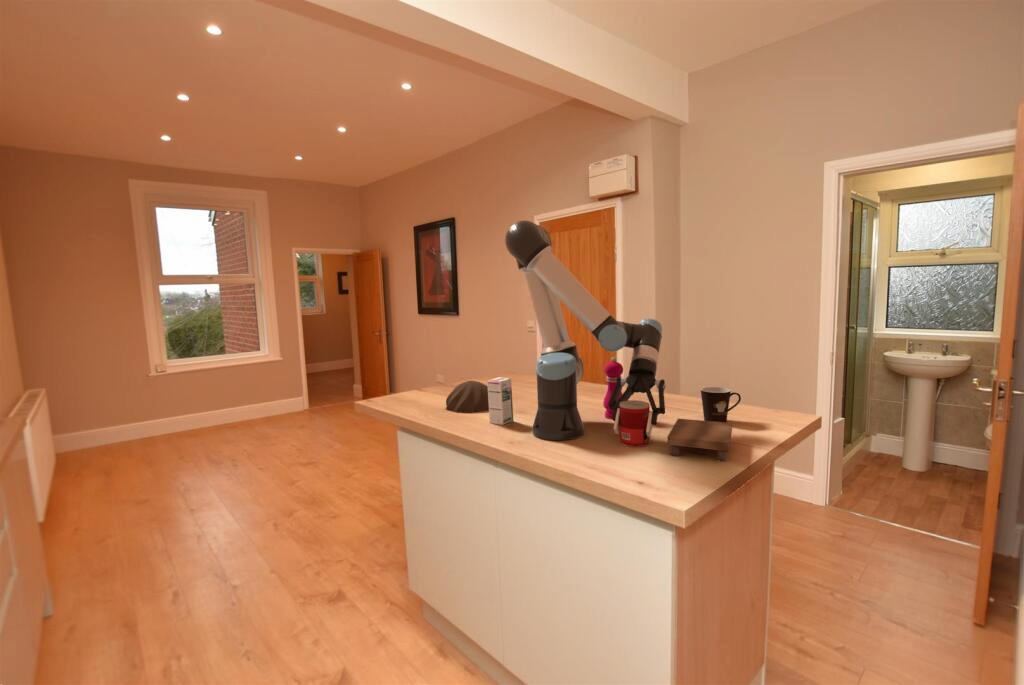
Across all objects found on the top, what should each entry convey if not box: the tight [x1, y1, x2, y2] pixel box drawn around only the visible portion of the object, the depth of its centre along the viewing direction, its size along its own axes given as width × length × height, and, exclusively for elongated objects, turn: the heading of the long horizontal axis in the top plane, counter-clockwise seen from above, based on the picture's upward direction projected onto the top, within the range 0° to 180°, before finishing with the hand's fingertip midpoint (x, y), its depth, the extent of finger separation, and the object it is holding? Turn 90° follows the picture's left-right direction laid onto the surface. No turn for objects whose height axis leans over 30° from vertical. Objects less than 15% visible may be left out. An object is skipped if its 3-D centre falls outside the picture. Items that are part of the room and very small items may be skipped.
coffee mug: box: [700, 386, 742, 423], centre depth 150 cm, size 12×9×10 cm
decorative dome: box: [445, 380, 489, 413], centre depth 183 cm, size 19×20×10 cm
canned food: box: [619, 399, 651, 447], centre depth 133 cm, size 8×8×11 cm
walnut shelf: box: [666, 418, 733, 462], centre depth 126 cm, size 14×18×5 cm
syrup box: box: [486, 376, 514, 426], centre depth 158 cm, size 6×6×14 cm
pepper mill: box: [602, 356, 624, 420], centre depth 159 cm, size 7×7×20 cm
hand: (631, 432), depth 130 cm, fingers closed on canned food, 8 cm apart
